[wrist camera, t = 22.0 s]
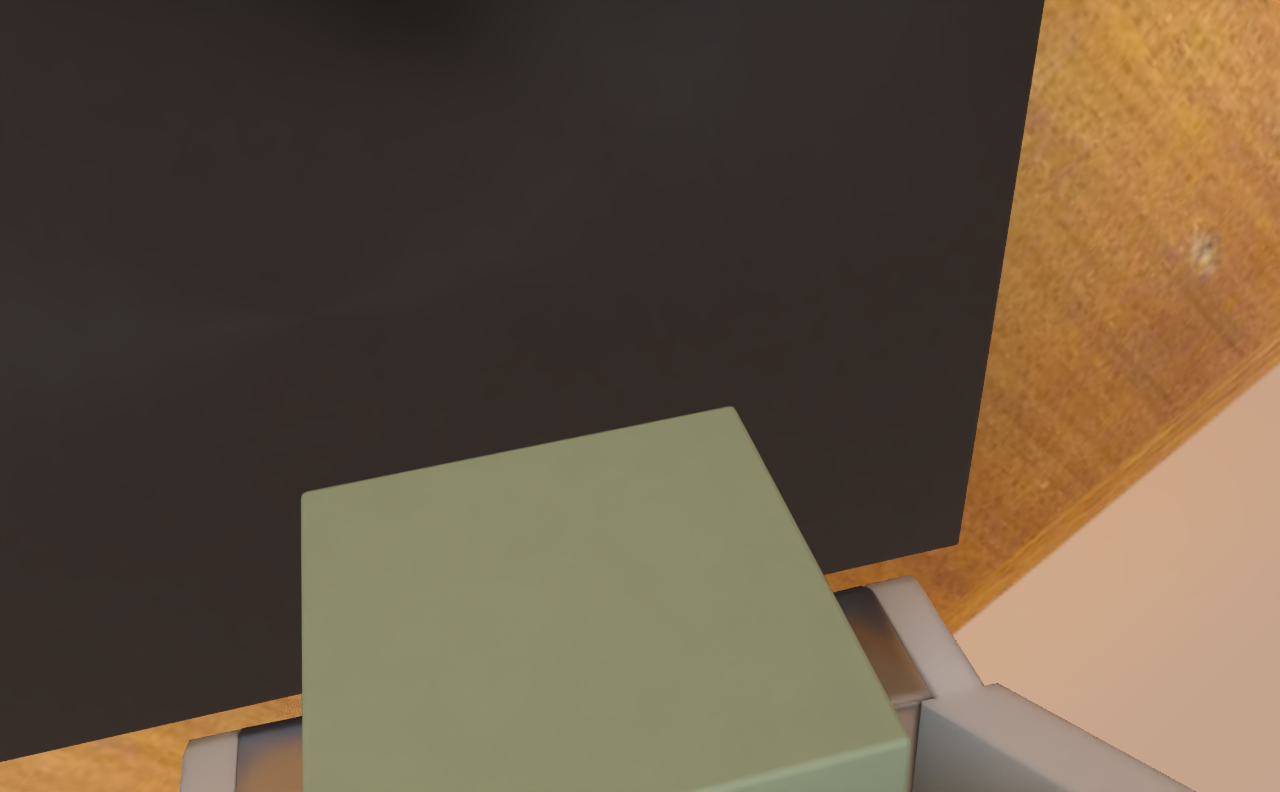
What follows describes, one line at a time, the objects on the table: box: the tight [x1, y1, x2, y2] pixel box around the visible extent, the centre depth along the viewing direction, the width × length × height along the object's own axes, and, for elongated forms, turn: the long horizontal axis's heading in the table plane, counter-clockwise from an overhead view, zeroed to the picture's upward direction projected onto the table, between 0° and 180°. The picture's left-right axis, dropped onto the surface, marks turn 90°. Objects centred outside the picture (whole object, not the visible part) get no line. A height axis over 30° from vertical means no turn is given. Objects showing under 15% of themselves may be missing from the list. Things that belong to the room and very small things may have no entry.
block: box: [301, 406, 911, 792], centre depth 11 cm, size 4×4×4 cm
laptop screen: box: [0, 0, 1045, 762], centre depth 23 cm, size 22×30×1 cm
